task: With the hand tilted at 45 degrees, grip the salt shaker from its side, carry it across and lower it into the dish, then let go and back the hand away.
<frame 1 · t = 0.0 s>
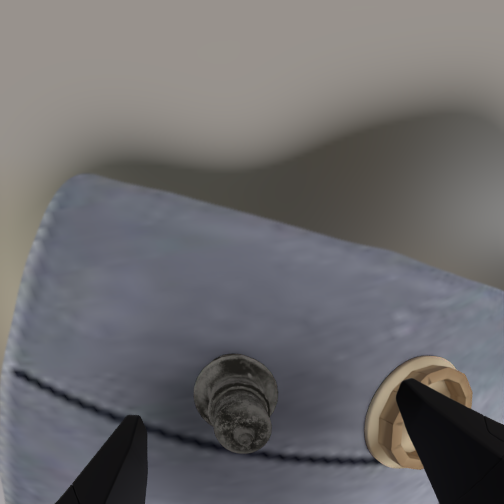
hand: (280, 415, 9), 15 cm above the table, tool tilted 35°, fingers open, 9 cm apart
dish: (415, 413, 23), on the table
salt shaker: (233, 384, 23), on the table
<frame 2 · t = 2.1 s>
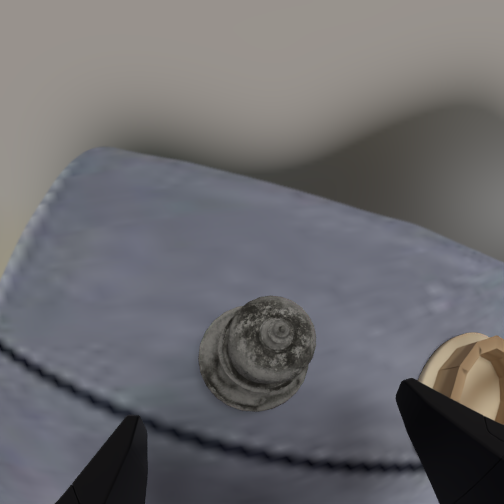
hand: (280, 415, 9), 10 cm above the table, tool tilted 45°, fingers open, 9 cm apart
dish: (464, 403, 17), on the table
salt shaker: (249, 362, 19), on the table
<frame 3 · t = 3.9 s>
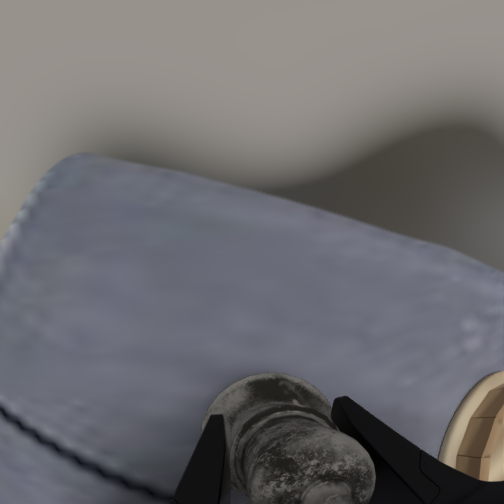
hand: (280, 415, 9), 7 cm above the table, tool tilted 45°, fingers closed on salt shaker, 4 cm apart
dish: (490, 445, 13), on the table
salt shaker: (261, 426, 14), on the table, touching gripper
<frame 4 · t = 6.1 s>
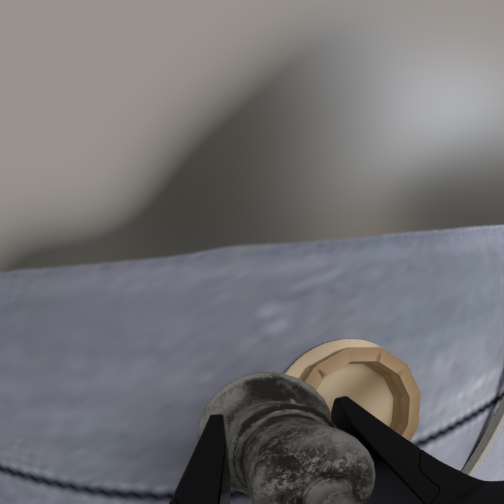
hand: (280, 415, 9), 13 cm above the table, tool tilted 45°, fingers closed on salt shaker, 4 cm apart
dish: (343, 412, 20), on the table
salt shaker: (257, 425, 14), point 6 cm above the table, touching gripper
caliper: (487, 412, 20), on the table
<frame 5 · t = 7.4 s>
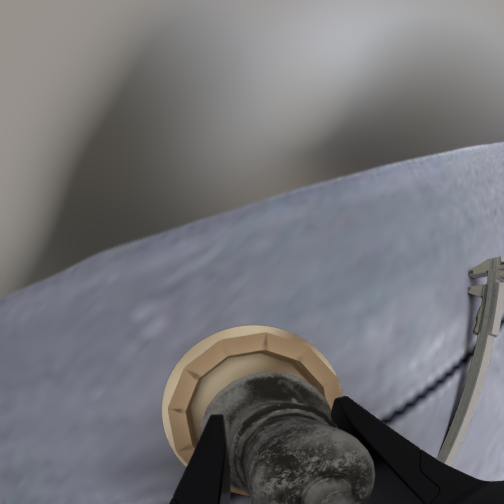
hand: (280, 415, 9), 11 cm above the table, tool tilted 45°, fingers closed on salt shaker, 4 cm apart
dish: (253, 412, 18), on the table
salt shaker: (259, 425, 14), point 4 cm above the table, touching gripper
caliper: (459, 374, 20), on the table
when the fingers open (9 cm above the table, at t = 8.4 s): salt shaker drops 2 cm, resting on dish.
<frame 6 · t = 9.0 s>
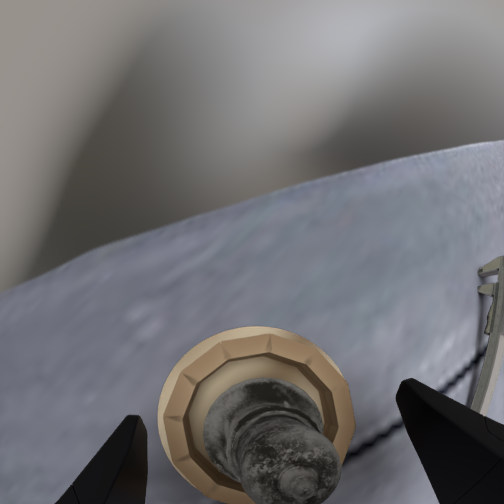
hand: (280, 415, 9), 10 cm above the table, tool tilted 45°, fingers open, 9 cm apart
dish: (256, 419, 17), on the table
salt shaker: (257, 424, 16), point 1 cm above the table, touching dish
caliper: (470, 376, 19), on the table
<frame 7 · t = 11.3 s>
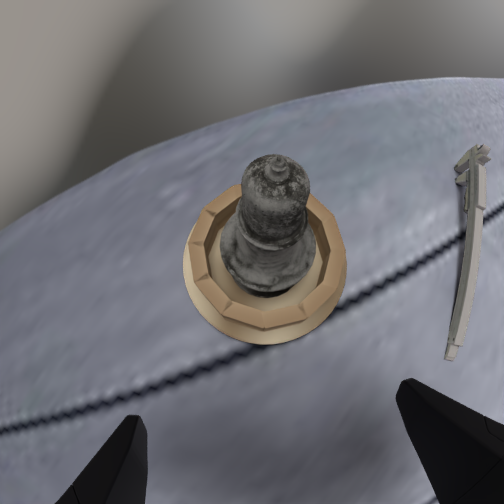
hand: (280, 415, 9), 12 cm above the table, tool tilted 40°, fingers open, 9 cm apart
dish: (265, 263, 23), on the table
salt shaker: (265, 262, 22), point 1 cm above the table, touching dish
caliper: (457, 252, 23), on the table
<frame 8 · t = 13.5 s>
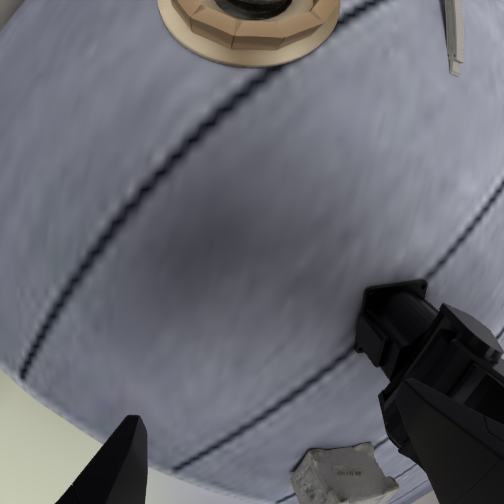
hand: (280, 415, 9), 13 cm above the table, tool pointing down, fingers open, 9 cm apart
incense holder: (331, 454, 32), on the table
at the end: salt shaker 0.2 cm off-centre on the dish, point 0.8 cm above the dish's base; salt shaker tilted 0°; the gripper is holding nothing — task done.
